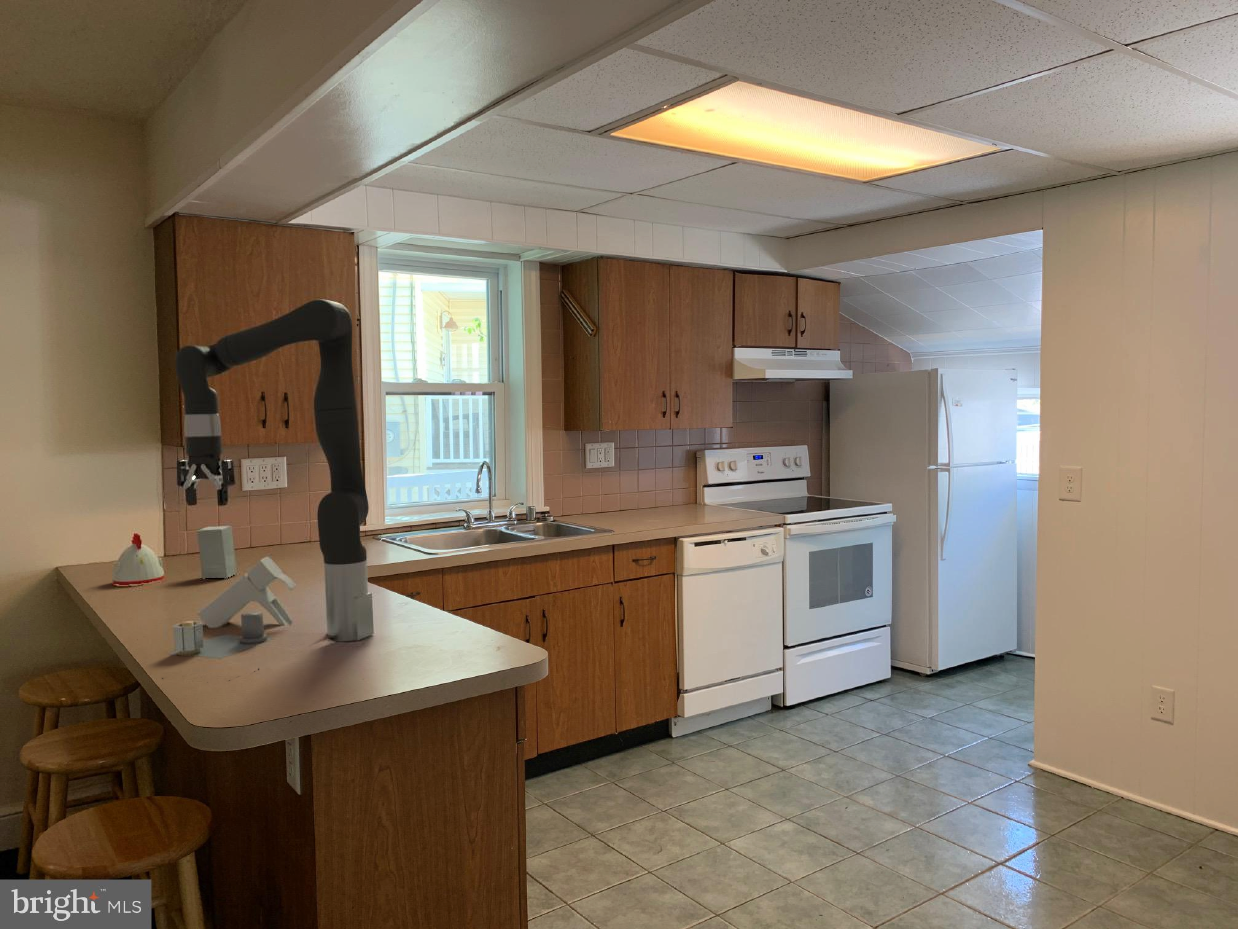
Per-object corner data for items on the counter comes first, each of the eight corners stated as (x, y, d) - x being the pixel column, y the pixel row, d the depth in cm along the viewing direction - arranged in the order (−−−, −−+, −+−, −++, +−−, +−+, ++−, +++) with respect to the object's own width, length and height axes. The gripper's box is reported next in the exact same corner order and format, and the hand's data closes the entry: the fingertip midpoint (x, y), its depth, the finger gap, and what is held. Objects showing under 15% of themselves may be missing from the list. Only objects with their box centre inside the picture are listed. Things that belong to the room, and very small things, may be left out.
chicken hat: (119, 589, 268) (116, 538, 267) (108, 582, 278) (105, 534, 277) (170, 582, 277) (167, 533, 276) (157, 576, 287) (154, 529, 286)
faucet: (206, 607, 218) (269, 552, 217) (252, 657, 219) (315, 603, 219) (195, 613, 212) (260, 557, 211) (243, 665, 213) (307, 609, 212)
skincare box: (237, 575, 285) (234, 525, 284) (225, 579, 278) (222, 528, 277) (211, 575, 286) (208, 525, 285) (199, 580, 279) (196, 528, 278)
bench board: (274, 643, 201) (272, 609, 200) (221, 664, 186) (219, 627, 185) (222, 639, 205) (220, 606, 205) (167, 659, 190) (164, 623, 190)
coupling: (209, 645, 192) (207, 621, 192) (189, 652, 187) (188, 628, 187) (188, 643, 194) (187, 620, 194) (169, 650, 189) (167, 626, 188)
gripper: (240, 433, 208) (244, 504, 209) (190, 434, 212) (194, 503, 213) (216, 434, 201) (220, 507, 202) (165, 435, 205) (169, 507, 206)
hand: (207, 505), depth 207 cm, fingers open, 8 cm apart
